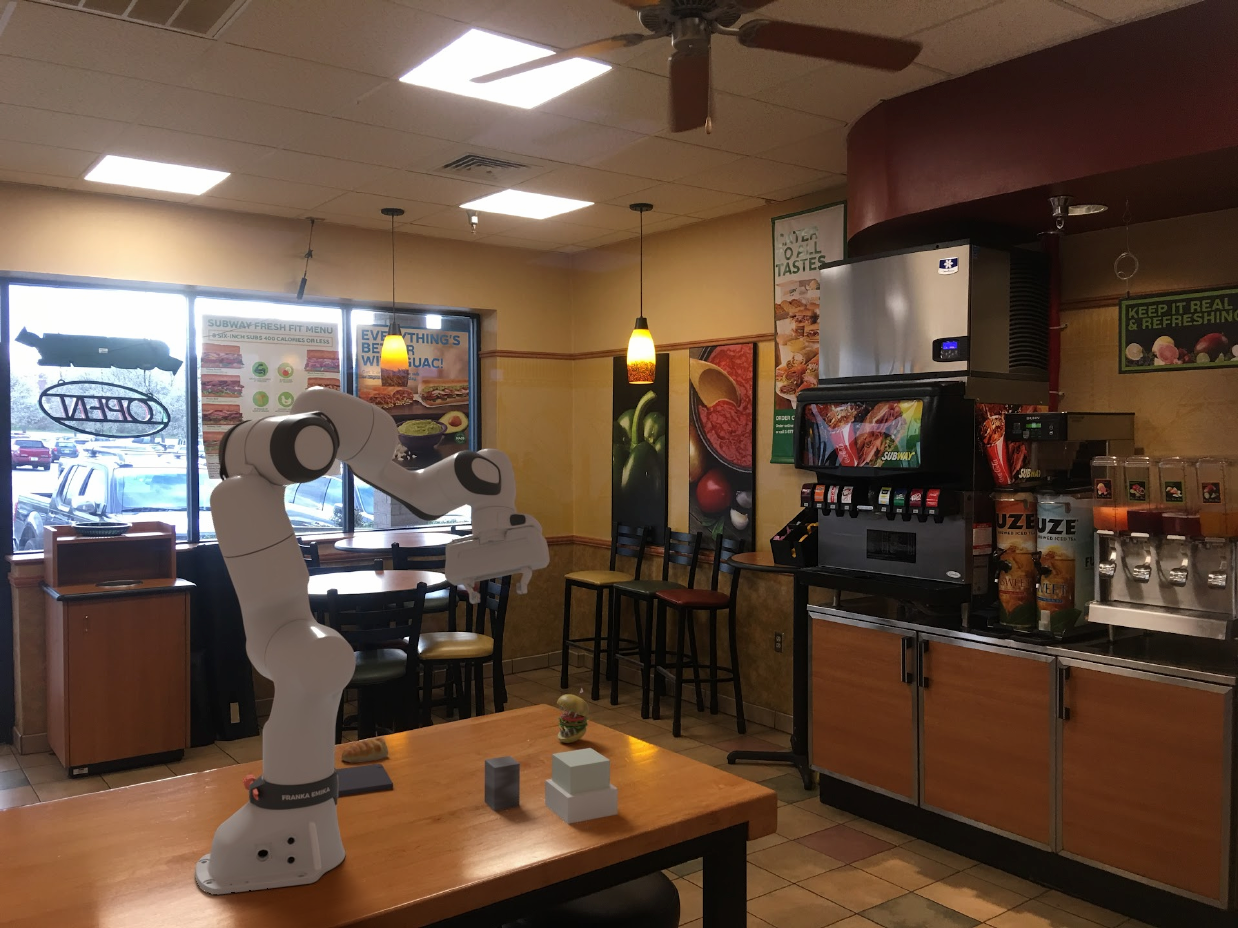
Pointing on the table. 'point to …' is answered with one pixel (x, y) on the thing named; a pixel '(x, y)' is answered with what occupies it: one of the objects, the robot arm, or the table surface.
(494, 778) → the charcoal block
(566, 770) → the tower top
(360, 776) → the notebook
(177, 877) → the table surface
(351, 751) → the pastry
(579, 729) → the hamburger
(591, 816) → the tower base
